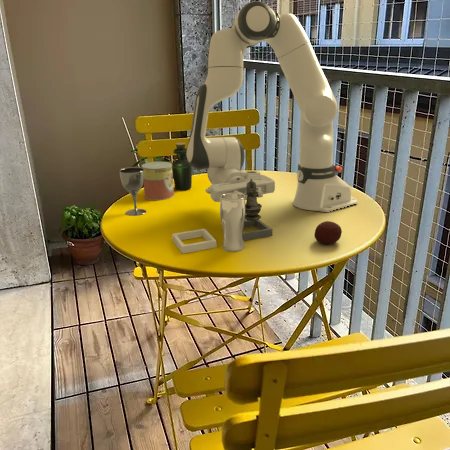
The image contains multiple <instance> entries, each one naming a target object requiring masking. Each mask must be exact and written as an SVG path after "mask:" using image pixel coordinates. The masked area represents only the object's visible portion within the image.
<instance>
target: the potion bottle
mask: <svg viewBox="0 0 450 450" xmlns="http://www.w3.org/2000/svg"><path fill="white" fill-rule="evenodd" d="M175 146H176V148H175V149H173V154H175V155H176V158H177V160H174V161H173V162H172V173H173V186H174V190H176V191H179V190H180V191H182V192H183V191H185V192H186V191H189V190H191V188H192V183H193V182H192V181H193V167H192V166H191V165H190V164H189V163H188V161H187V148H186V142H175Z"/></svg>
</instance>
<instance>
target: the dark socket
mask: <svg viewBox="0 0 450 450" xmlns="http://www.w3.org/2000/svg"><path fill="white" fill-rule="evenodd" d="M252 227H256V228H258V230H251V231H248V232H243V241H244V242H245V241H249V240H254V239H255V240H256V239H260V238H261V239H262V238H265V237H272V236H273V228H272V227H270V226H269V225H268V224H266V223H264V222H263V221H262V220H261V219H259V220H255V221H249V220H245V223H244V229H245V228H246V229H247V228H252Z"/></svg>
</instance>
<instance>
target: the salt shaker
mask: <svg viewBox="0 0 450 450" xmlns="http://www.w3.org/2000/svg"><path fill="white" fill-rule="evenodd" d="M246 194H247V200H246V201H245V206H246V216H245V220H249V221H255V220H261V219H262V216H261V215H260V212H261V209H262V204H260V203H258V200H257V199H258V198H257V194H258V193H256V183H255V182H253V181H252V179H250V182H248V183H247V193H246Z"/></svg>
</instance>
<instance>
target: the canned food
mask: <svg viewBox="0 0 450 450" xmlns="http://www.w3.org/2000/svg"><path fill="white" fill-rule="evenodd" d="M172 163H173V162H172ZM172 163H171V162H170V161H163V160H162V161H160V160H159V161H149V162H146V163H143V164H141V168H143V169H144V184H143V193H144V198H145V199H146V200H149V201H163V200H164V199H165V200H169V199H172V198H173V197H174V196H175V192H174V191H175V187H174V179H173V172H172Z"/></svg>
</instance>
